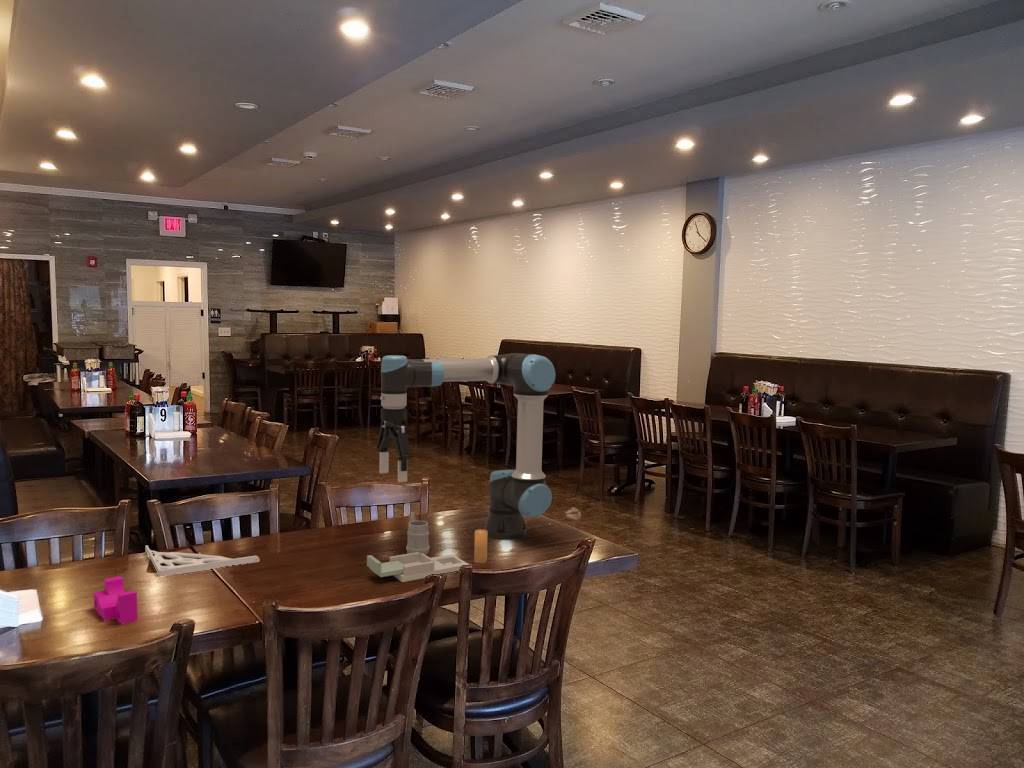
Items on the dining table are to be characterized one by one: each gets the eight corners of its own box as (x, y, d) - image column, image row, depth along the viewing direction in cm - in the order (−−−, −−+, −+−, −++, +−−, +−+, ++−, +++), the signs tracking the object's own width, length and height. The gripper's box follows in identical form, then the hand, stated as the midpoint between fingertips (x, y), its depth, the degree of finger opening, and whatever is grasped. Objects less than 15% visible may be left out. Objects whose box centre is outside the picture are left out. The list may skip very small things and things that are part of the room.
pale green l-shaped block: (397, 564, 225) (397, 550, 224) (408, 572, 218) (409, 558, 218) (366, 569, 220) (367, 555, 219) (377, 577, 213) (377, 563, 213)
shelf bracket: (145, 553, 240) (145, 544, 239) (237, 540, 255) (237, 532, 255) (159, 580, 216) (159, 570, 216) (259, 564, 232) (259, 555, 231)
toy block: (94, 609, 192) (93, 581, 191) (120, 604, 196) (120, 576, 196) (109, 628, 181) (108, 598, 180) (137, 622, 185) (136, 592, 184)
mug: (410, 557, 238) (411, 520, 237) (398, 547, 249) (399, 511, 248) (433, 554, 242) (433, 518, 241) (420, 544, 252) (421, 509, 251)
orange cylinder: (482, 559, 238) (483, 528, 237) (489, 563, 235) (489, 532, 234) (471, 561, 236) (472, 530, 235) (478, 565, 233) (478, 533, 232)
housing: (451, 560, 237) (452, 546, 236) (468, 570, 228) (469, 556, 227) (386, 571, 225) (387, 557, 224) (402, 583, 216) (402, 567, 215)
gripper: (366, 403, 233) (365, 470, 235) (399, 412, 212) (398, 486, 214) (388, 402, 237) (387, 468, 239) (423, 411, 216) (422, 484, 218)
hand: (392, 477), depth 226 cm, fingers open, 13 cm apart
